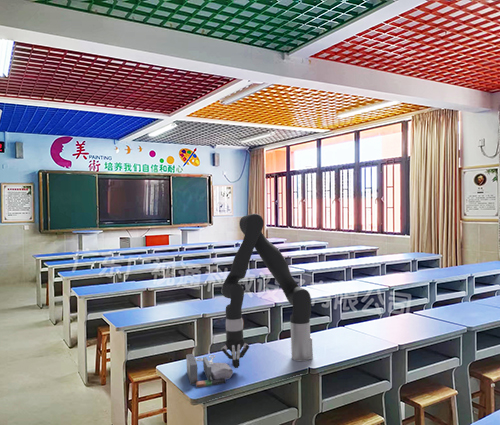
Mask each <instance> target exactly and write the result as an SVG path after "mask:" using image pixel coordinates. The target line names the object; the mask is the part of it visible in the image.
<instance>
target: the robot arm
mask: <svg viewBox="0 0 500 425" xmlns="http://www.w3.org/2000/svg"><path fill="white" fill-rule="evenodd" d="M264 226H265V224H264V219H263V217H262V216H261V215H260V214H258V213H250V214H247V215H244V216H242V217H241V218H240V219H239V228H240V230H241V232H242V233H243V236H244V237H243V239H242V242H241V245H240V246H239V248H238V250H237V252H236V253H235V254H234V255H235V256H234V258H233V261H232V264H231V267H230V271H229V273H228V274H227V276H226V278H225V280H224V282H223V284H222V286H221V294H222V296H223V297H224V298H226V299H230V302H229V304H227V305H226V306H225V334H226V335H225V338H226V339H225V343H224V344H225V345H224V346H222V347H220V350H221V351H222V352H223V353H224V355H225V356H226V357H227V358H228V360H232V366H233V367H232V368H234V369H238V368H239V367H240V359H241V358H244V356H245V355H246V353H247V351H248V350H249V348H250V345H249V344H248V343H246V341H245V340H244V327H243V322H242V318H243V313H242V307H243V302H244V297H245V290H244V286H243V285H241V284H240V283H239V282H240V280H242V279H243V280H244V279H245V277H246V275H247V271H248V267H249V264H250V260H251V257H252V254H253V252H254V249H255V251H256V253H257V254H258V256H259V257H260V258H261V260H262V262H263V264H264V265H265V266H266V268H267V269H268V271H269V272H270V273H271V275H272V276H273V278H274V280H276V283H278V284H279V286H280V288H281V290H282V292H283V294H284V295H285V297H286V298H285V299H286V300H287V301H288V303H289V304H290V305H292V314H290V316H289V320H290V323H289V324H290V346H291V359H292V360H293V361H298V362H305V361H309V360H312V359H314V356H313V352H314V350H313V338H312V336H311V319H310V318H311V316H312V297H311V294H310V292H309V291H308V290H307V289H305V288H302V287H300V285H299V284H298V283H297V282H296V281H295V279H294V278H293V276H292V273H291V270H290V267H289V264H288V262H287V260H286V259H285V257H284V256H283V254H282V252H281V251H280V249H279V248H277V247H276V245H274V244H273V243H272V242H271V241H270V240H269V239H267V237H266V236H265V235H264V233H263V232H262V231H263V229H264ZM228 350H229V351H230V353H229V352H228Z"/></svg>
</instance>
